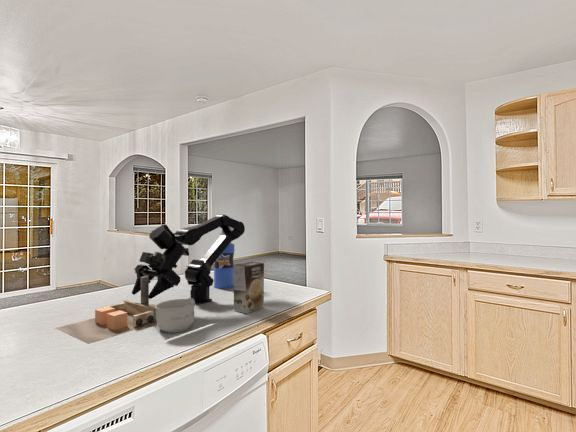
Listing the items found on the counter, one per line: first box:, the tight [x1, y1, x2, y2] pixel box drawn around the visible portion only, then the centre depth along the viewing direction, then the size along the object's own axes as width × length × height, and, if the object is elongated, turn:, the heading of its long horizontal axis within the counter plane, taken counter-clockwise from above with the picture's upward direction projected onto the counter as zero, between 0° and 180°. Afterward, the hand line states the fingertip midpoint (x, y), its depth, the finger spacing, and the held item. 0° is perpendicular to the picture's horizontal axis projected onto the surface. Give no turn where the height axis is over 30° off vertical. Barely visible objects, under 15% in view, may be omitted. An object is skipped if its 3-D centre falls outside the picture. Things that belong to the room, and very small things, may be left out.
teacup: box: [155, 297, 196, 334], centre depth 101 cm, size 14×11×8 cm
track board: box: [55, 303, 157, 345], centre depth 106 cm, size 31×20×1 cm, turn 145°
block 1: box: [94, 306, 115, 325], centre depth 104 cm, size 4×4×4 cm
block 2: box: [107, 310, 128, 330], centre depth 100 cm, size 4×4×4 cm
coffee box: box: [233, 261, 265, 314], centre depth 120 cm, size 9×6×16 cm
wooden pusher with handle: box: [105, 276, 156, 326], centre depth 108 cm, size 10×18×12 cm, turn 55°
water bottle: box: [213, 231, 235, 290], centre depth 155 cm, size 9×9×25 cm
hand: (140, 296), depth 110 cm, fingers open, 9 cm apart
